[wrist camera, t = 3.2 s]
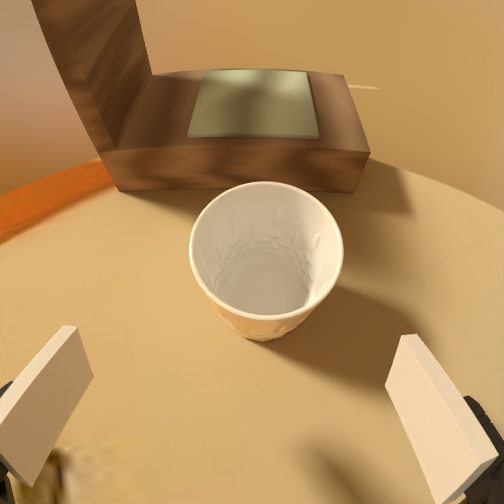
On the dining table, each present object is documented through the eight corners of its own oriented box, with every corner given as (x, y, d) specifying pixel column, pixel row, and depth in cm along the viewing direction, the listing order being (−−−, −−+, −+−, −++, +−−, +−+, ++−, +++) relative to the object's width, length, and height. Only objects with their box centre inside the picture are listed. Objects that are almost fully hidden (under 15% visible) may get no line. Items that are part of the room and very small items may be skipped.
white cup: (317, 266, 25) (348, 196, 16) (301, 358, 22) (333, 335, 13) (227, 247, 26) (214, 171, 17) (201, 336, 23) (168, 298, 14)
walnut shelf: (334, 113, 34) (368, -64, 13) (353, 193, 29) (433, -45, 7) (147, 113, 35) (105, -54, 13) (119, 191, 29) (24, -21, 8)
